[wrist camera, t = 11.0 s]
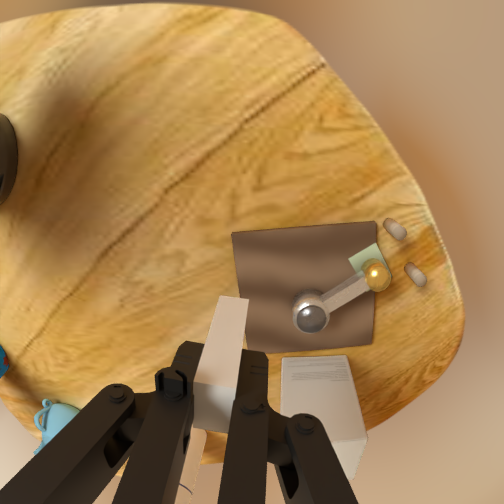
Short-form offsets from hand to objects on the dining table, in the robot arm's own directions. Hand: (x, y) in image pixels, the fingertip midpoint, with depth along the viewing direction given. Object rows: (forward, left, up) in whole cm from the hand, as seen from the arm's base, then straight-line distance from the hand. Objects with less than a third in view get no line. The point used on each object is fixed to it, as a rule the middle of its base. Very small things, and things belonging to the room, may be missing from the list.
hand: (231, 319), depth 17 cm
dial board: (+9, +8, -20) cm, 23 cm away
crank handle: (+8, +8, -19) cm, 22 cm away
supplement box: (+23, +5, -20) cm, 31 cm away
